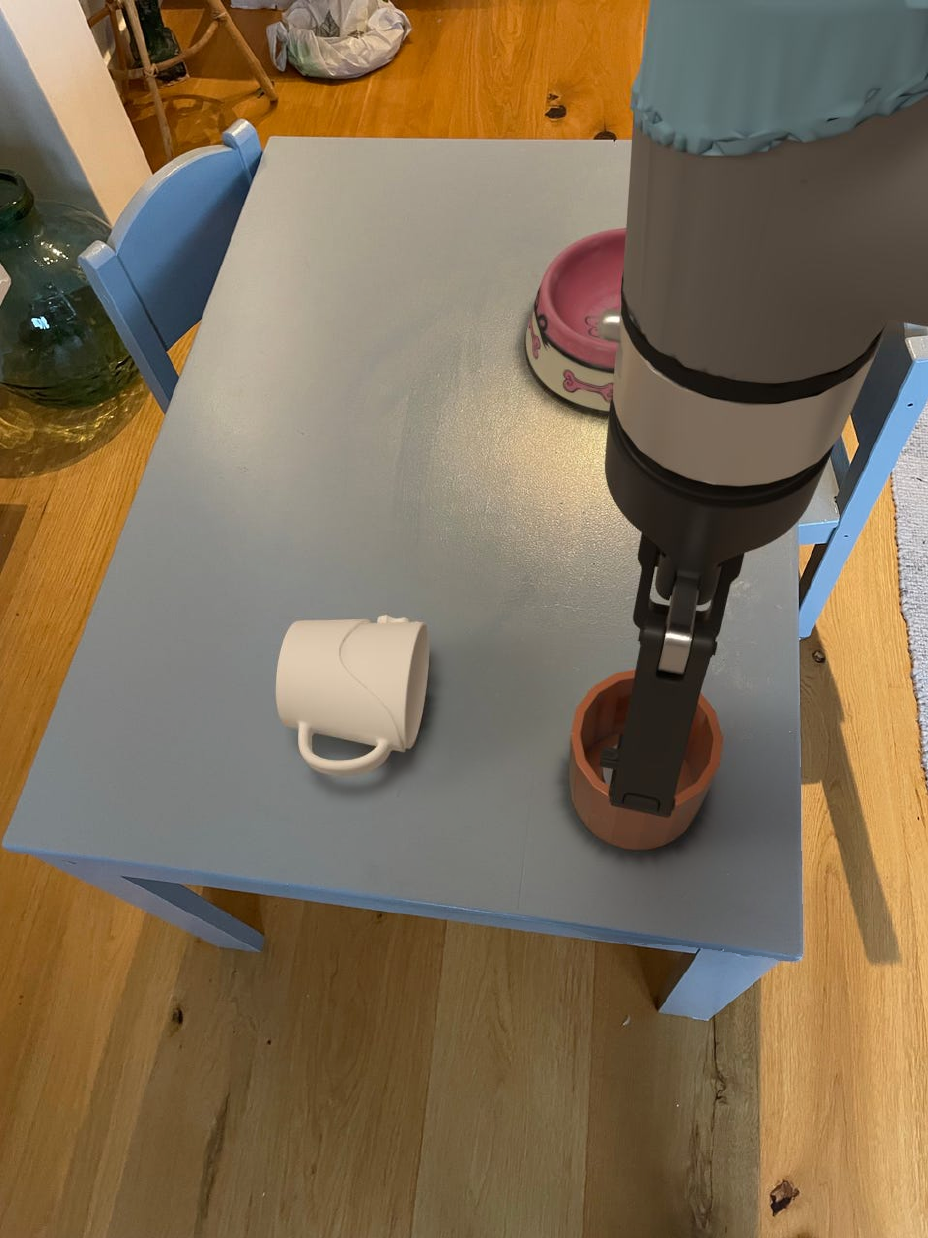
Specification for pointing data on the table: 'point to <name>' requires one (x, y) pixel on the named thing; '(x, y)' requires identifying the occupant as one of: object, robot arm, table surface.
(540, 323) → the dog bowl
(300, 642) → the mug
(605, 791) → the crock
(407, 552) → the table surface
